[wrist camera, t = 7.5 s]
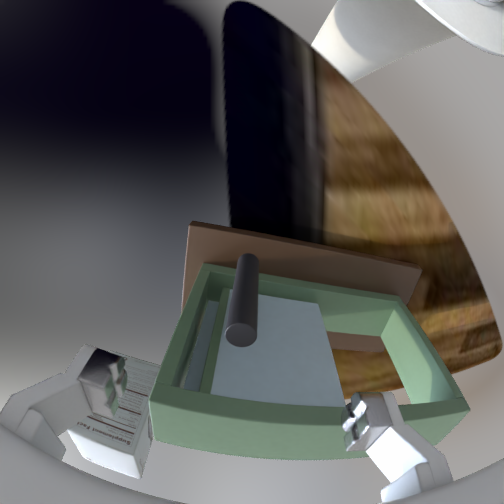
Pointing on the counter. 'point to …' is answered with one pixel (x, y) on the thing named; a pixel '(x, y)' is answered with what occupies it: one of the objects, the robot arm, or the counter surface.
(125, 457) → the white packaging box
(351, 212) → the counter surface
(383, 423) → the robot arm
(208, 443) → the window frame
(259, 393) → the sliding pane
